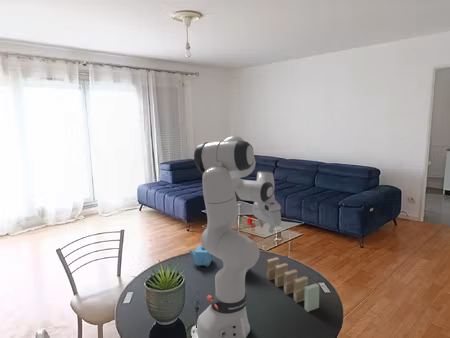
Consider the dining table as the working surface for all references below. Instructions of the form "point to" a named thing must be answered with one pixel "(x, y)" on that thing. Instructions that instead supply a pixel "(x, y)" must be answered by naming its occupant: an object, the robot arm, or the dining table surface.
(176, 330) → the dining table surface
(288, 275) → the domino
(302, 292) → the domino
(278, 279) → the domino
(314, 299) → the end domino
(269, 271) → the domino
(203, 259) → the teapot
